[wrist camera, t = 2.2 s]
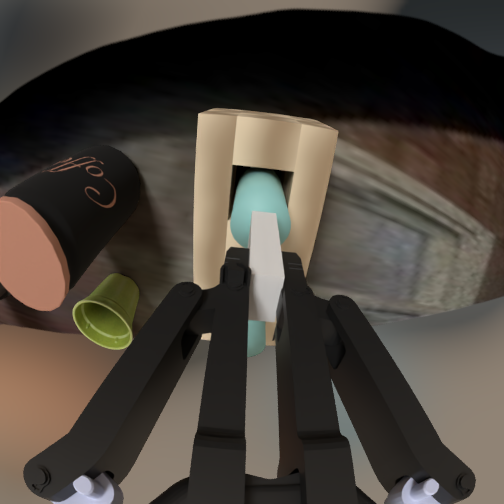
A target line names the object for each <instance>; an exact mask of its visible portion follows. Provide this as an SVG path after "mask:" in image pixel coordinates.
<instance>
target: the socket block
mask: <svg viewBox="0 0 504 504" xmlns="http://www.w3.org/2000/svg"><path fill="white" fill-rule="evenodd" d="M337 136H338V131H337V130H335V129H333V128H331V127H329V126H327V125H325V124H323V123H321V122H318V121H316V120H311V119H305V118H299V117H293V116H287V115H280V114H272V113H264V112H255V111H245V110H234V109H220V108H214V109H211V110H208V111H205V112H202V113H199V114H198V128H197V144H196V163H195V187H194V235H193V265H194V283H195V284H197V285H199V286H200V287H201V289H209V288H213V287H215V286H217V285H218V284H219V282H220V268H221V266H222V265H224V261H225V256H226V251H227V250H228V249H229V248H230V247H239V248H244V247H242V246H241V245H240V244H239V243H237V241H236V240H235V239H234V237H233V235H232V233H231V229H230V221H231V215H232V210H233V205H234V200H235V195H236V190H237V187H235V181H236V170H237V165H241V166H251V167H260V168H269V169H277V170H281V175H280V181H281V184H282V188H283V192H284V196H285V200H286V204H287V208H288V212H289V216H290V220H291V229H290V233H289V235H288V237H287V239H286V240H285V241H284V242H283V243H282V244H281V251H285V252H294V253H297V255H298V256H299V257H300V258H301V261H302V266H303V270H304V275H305V278H306V274H307V270H308V266H309V262H310V259H311V255H312V251H313V247H314V243H315V239H316V235H317V230H318V226H319V222H320V218H321V213H322V209H323V205H324V200H325V196H326V191H327V187H328V182H329V177H330V172H331V167H332V162H333V157H334V152H335V147H336V142H337ZM276 323H277V321H276V318H275V322H266V321H265V331H266V345H269V346H275V341H272V339H273V335H274V331H275V327H276ZM210 338H211V333H206V334H202V337H201V339H204V340H210Z"/></svg>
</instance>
